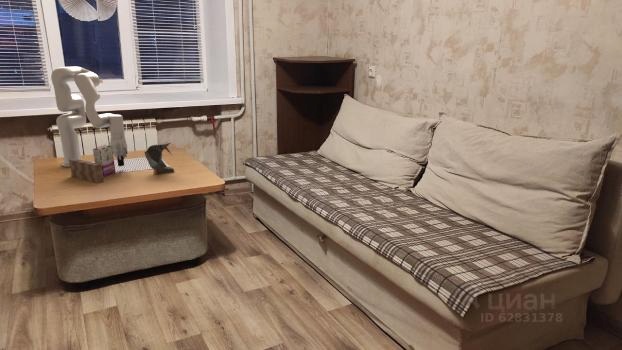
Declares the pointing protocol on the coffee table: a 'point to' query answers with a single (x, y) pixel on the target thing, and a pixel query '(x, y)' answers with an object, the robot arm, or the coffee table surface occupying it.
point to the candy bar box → (105, 159)
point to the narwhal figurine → (157, 158)
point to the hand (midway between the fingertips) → (121, 165)
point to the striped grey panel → (86, 170)
